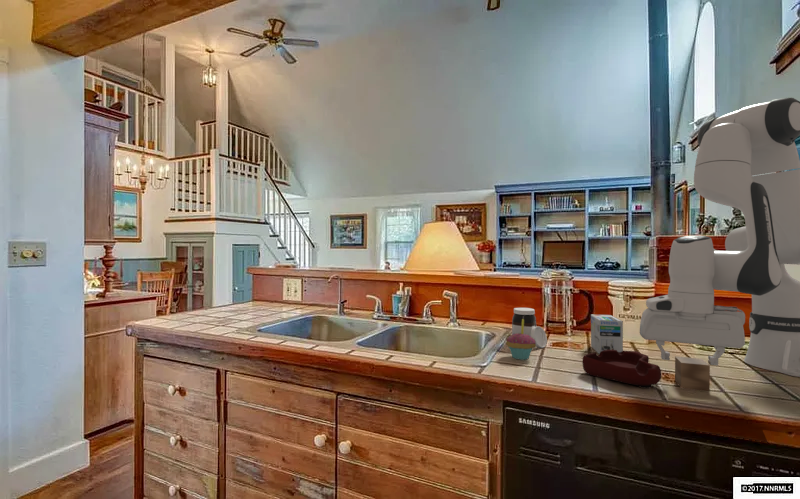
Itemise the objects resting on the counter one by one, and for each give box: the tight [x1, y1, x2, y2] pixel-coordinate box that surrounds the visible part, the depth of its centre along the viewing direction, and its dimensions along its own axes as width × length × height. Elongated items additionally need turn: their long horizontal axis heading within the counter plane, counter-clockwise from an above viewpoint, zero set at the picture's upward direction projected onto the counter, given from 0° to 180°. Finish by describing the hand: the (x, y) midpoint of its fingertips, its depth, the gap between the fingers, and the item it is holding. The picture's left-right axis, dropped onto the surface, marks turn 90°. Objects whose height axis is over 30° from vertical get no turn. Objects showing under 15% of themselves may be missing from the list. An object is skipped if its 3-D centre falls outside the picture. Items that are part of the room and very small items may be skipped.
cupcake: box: [505, 316, 537, 361], centre depth 118 cm, size 9×8×12 cm
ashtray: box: [581, 350, 662, 389], centre depth 101 cm, size 18×16×5 cm
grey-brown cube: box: [674, 356, 711, 392], centre depth 94 cm, size 6×6×6 cm
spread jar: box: [511, 307, 548, 349], centre depth 133 cm, size 12×11×12 cm
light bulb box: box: [590, 314, 624, 355], centre depth 125 cm, size 11×7×11 cm, turn 168°
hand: (688, 361), depth 94 cm, fingers open, 8 cm apart
